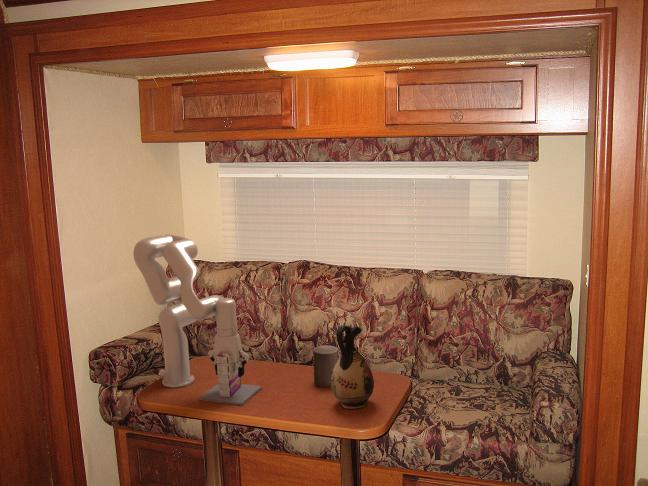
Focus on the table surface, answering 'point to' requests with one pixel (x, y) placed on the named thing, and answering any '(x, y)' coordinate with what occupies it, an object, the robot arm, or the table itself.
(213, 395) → the rubber mat
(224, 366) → the candy bar box
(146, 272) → the robot arm
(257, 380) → the table surface
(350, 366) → the ceramic jug
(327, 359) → the pillar candle
